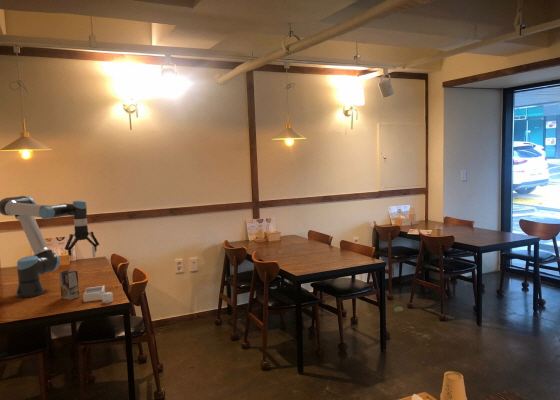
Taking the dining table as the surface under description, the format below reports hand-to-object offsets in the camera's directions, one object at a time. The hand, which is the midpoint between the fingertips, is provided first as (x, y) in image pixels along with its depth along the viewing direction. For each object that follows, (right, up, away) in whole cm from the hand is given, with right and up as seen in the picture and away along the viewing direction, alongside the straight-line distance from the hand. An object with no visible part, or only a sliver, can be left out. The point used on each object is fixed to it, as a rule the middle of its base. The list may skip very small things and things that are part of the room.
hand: (83, 258), depth 272 cm
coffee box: (-3, -22, -11) cm, 25 cm away
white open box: (+12, -22, -12) cm, 28 cm away
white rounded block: (+24, -22, -21) cm, 39 cm away
